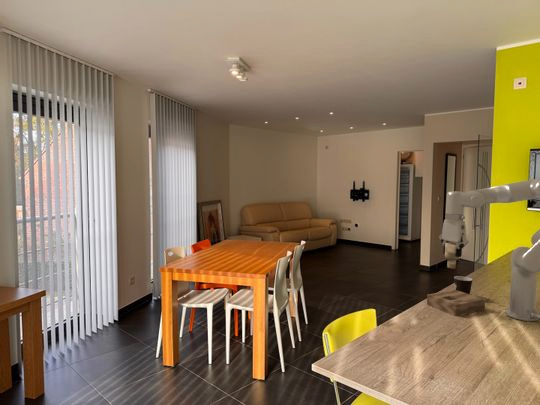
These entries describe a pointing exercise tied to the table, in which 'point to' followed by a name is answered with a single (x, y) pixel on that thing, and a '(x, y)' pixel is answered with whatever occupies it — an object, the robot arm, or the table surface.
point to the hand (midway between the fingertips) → (452, 254)
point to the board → (456, 302)
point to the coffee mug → (463, 284)
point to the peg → (451, 254)
